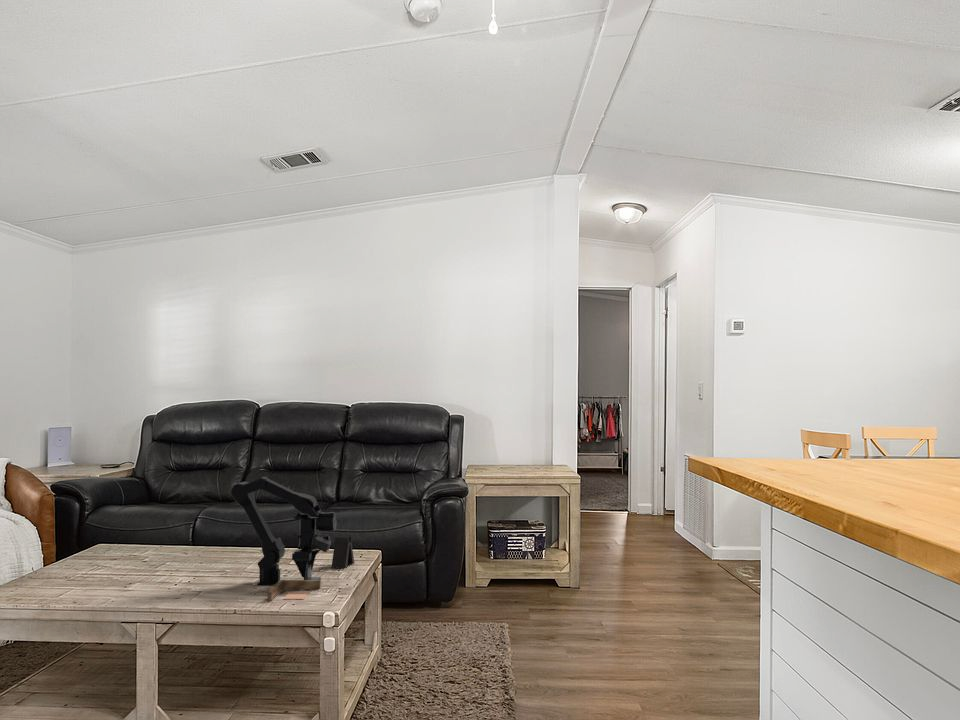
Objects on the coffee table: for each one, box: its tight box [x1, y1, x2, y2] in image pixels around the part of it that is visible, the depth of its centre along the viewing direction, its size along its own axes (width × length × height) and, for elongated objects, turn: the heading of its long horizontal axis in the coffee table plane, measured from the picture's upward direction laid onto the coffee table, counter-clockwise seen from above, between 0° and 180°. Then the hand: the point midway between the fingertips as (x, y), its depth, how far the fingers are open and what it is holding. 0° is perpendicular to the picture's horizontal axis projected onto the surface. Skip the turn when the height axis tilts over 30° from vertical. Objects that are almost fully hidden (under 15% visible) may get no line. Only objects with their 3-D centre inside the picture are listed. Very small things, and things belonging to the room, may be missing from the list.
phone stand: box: [330, 534, 355, 569], centre depth 274 cm, size 9×6×12 cm, turn 166°
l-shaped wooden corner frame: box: [267, 579, 322, 602], centre depth 236 cm, size 14×15×3 cm
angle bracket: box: [303, 565, 322, 580], centre depth 250 cm, size 5×5×6 cm
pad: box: [283, 591, 311, 600], centre depth 234 cm, size 7×8×1 cm
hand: (307, 573), depth 250 cm, fingers open, 9 cm apart
